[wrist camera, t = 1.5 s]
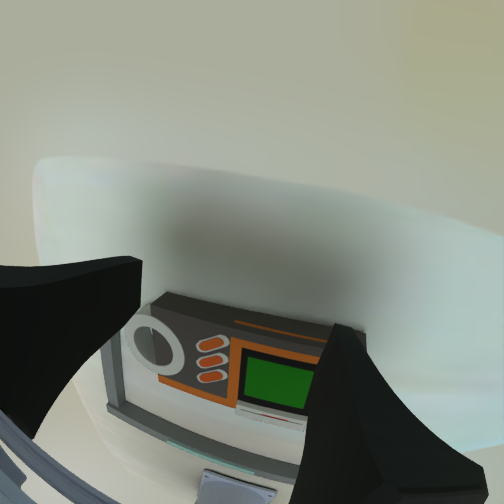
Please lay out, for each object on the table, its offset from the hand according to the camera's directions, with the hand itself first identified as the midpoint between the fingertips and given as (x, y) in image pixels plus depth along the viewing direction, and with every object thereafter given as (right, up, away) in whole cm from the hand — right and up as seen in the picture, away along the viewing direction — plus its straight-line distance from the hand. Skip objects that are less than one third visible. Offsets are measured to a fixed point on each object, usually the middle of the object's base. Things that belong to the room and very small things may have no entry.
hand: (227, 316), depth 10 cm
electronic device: (0, -4, +9) cm, 9 cm away
